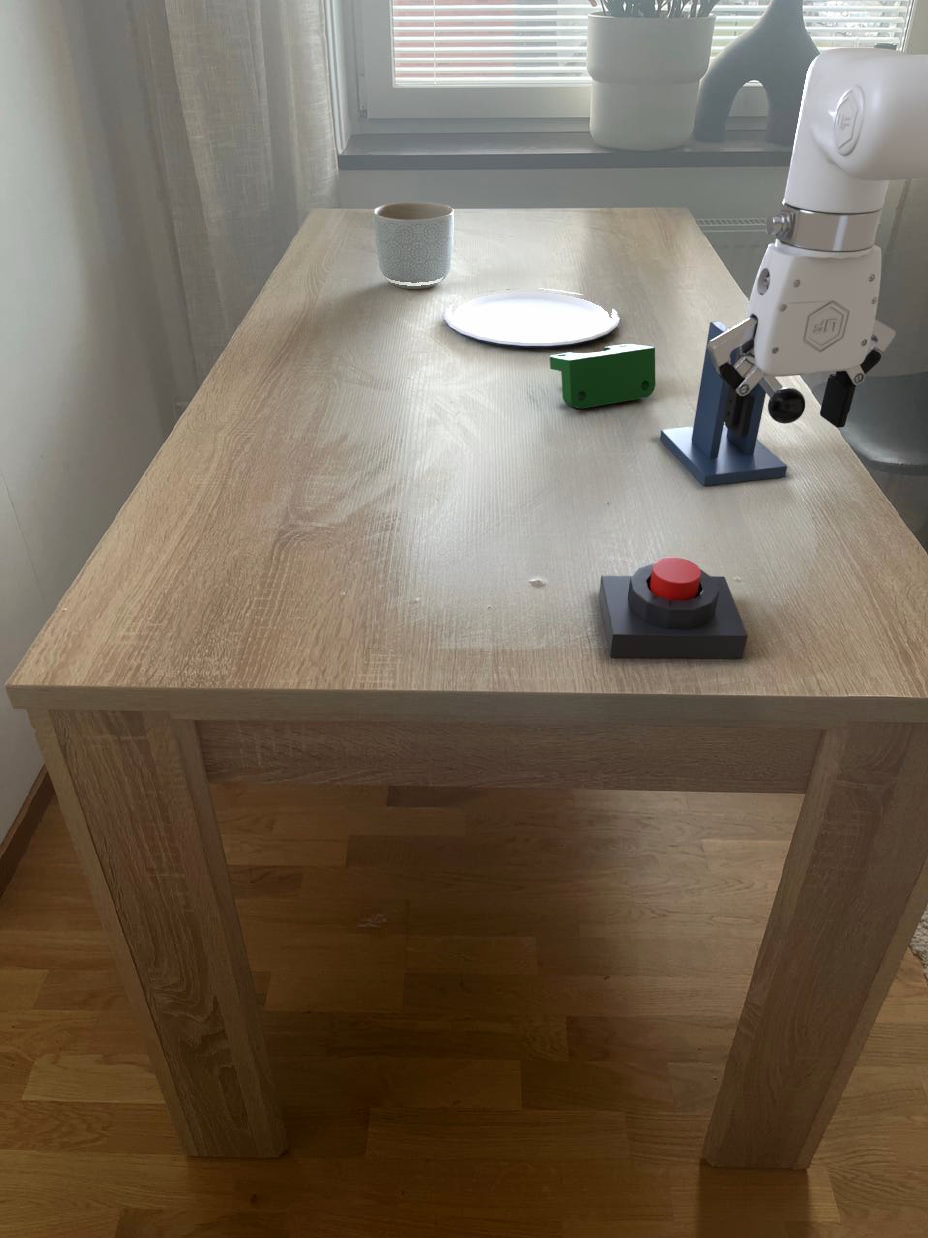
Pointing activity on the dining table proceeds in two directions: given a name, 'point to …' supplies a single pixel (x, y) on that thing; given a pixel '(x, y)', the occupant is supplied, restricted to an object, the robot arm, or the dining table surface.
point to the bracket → (721, 434)
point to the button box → (670, 619)
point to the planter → (414, 241)
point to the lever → (780, 398)
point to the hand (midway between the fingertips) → (783, 426)
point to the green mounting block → (606, 375)
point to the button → (675, 579)
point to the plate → (531, 319)
